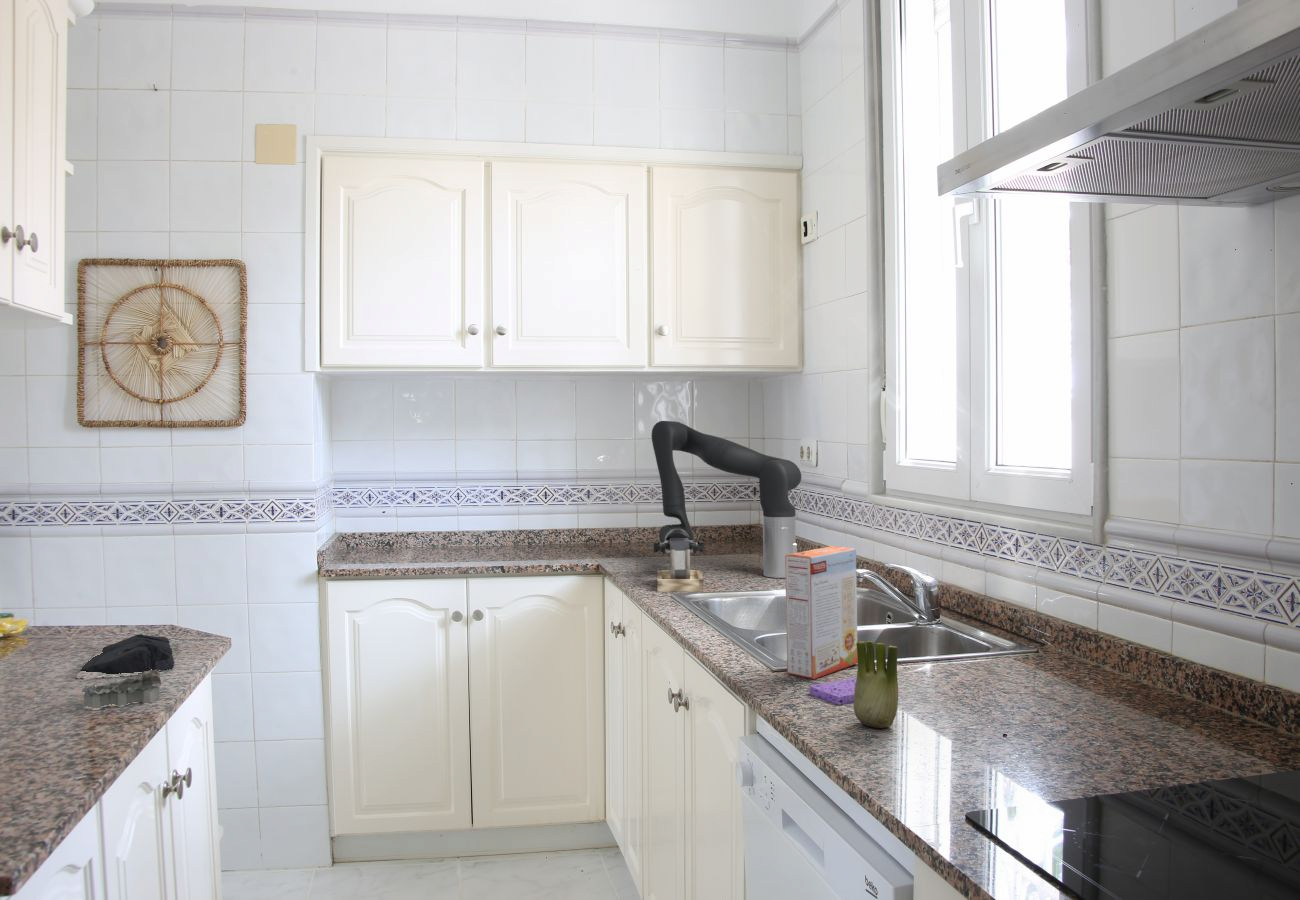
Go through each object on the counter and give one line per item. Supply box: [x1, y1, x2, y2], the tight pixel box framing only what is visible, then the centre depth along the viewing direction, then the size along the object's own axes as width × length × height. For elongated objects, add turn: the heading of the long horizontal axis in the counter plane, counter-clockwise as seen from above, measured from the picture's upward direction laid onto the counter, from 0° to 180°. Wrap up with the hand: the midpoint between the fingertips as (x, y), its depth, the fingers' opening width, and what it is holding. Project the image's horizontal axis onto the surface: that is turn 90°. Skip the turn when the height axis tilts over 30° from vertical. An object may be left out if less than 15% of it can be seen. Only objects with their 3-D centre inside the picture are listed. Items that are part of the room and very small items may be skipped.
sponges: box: [808, 677, 857, 706], centre depth 142 cm, size 7×13×2 cm, turn 120°
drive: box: [670, 538, 689, 579], centre depth 241 cm, size 5×7×11 cm
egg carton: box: [81, 669, 162, 708], centre depth 141 cm, size 11×8×4 cm
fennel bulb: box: [853, 640, 899, 729], centre depth 127 cm, size 6×5×12 cm
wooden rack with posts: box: [656, 549, 705, 593], centre depth 241 cm, size 12×16×10 cm
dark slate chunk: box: [79, 633, 175, 674], centre depth 165 cm, size 15×22×5 cm
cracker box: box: [785, 545, 858, 680], centre depth 156 cm, size 14×6×21 cm, turn 135°
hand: (679, 549), depth 246 cm, fingers open, 8 cm apart
